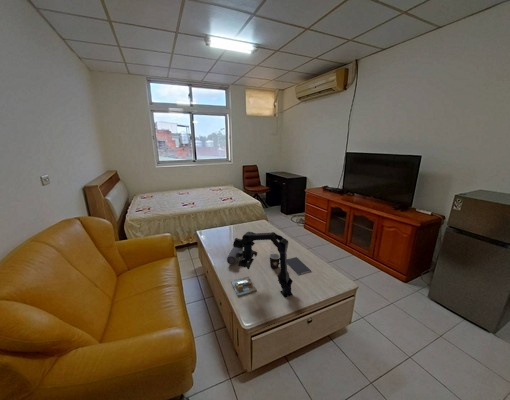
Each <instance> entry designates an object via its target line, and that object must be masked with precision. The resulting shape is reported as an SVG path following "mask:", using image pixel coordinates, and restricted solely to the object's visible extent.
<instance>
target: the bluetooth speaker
mask: <svg viewBox="0 0 510 400" xmlns="http://www.w3.org/2000/svg"><path fill="white" fill-rule="evenodd" d="M243 250H244V247H243V248H242V249H240V248H235V247H233V246H232V248H231V250H230V252H229V253H228V255H227V257H226V262H227V263H228V265H231V266H234V265H236V263H238V262H239V259H240V258H237V257H236V253H238V252H239V251H243Z"/></svg>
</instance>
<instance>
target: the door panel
mask: <svg viewBox="0 0 510 400" xmlns="http://www.w3.org/2000/svg"><path fill="white" fill-rule="evenodd" d="M247 279H251V278H250V277H249V276H246V277H242V278H238V279H234V280H230V284H231V286H232V288H233V290H234V292H235V294H236V296H237V298H239V297H242V296H245V295H248V294H252V293H255V292H258V289H257V288H256V286H255V285H254V283H253V281H252V280H251V285H245V286H243V285H240V286H238V282H239V281H244V280H247Z"/></svg>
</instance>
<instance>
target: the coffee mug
mask: <svg viewBox="0 0 510 400" xmlns="http://www.w3.org/2000/svg"><path fill="white" fill-rule="evenodd" d="M268 257H269V263H270V264H269V266H270V268H271V269H273V270H277V269H279V266H280V253H270V254H269V256H268Z"/></svg>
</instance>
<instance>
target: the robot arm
mask: <svg viewBox="0 0 510 400" xmlns="http://www.w3.org/2000/svg"><path fill="white" fill-rule="evenodd" d="M255 241H271V242H272V244H273V245H274V247H276V248H277V251H278V254H279V255H280V260H279V263H280V264H279V266H280V268H279V269H280V271H279V273H278V275H277V281H278V284H280V286H281V287H280V288H281V290H280V291H279V292H280V294H281V295H282V296H283V297H284V298H288V297H291V296H293V295H294V294H293V292H292V283H293V279H292V278H291V277H290V274H289V273H290V272H288V265H287V259H288V258H287V255H288V254H287V251H288V247H289V240H288V239H286V238H285V237H283V236H281V235H280V234H277V233H276V232H274V231H272V232H260V233H259V232H258V233H257V232H253V231H246V232H245V233H244V234H243V235H242V237H241V238H238V237H236V238H234V241H233V244H232V248H233V247H235V248H240V249H242V248H243V251H239V252H238V253H236V257H237V258H239V259H240V258H242V259H241V260H238V261H237V265H238V267H241V268H245V269H246V268H247V270H249V269H250V268H251V266H252V264H253V262H254V259H255V258H257V256H258V252H257V251H255V250H253V246H254V245H255V244H256V243H255ZM253 257H255V258H253Z"/></svg>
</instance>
